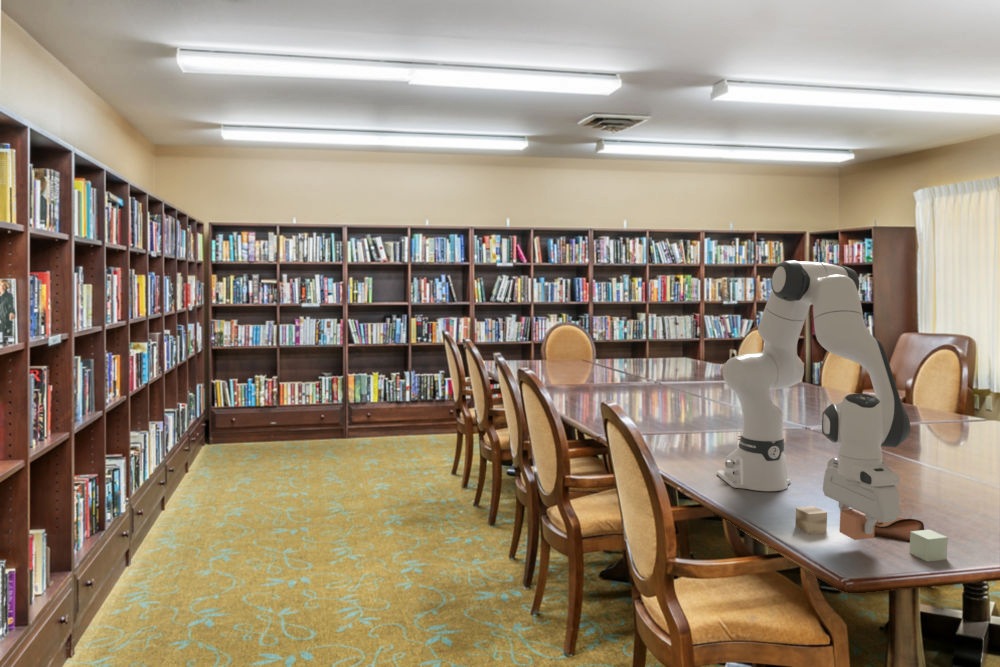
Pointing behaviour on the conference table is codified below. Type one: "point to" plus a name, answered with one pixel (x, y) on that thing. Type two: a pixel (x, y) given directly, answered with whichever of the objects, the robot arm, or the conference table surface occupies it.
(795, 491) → the conference table surface
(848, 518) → the rust block
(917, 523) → the sunglasses case
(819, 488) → the conference table surface
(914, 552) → the sage block
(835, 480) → the robot arm
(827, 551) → the conference table surface
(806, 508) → the maple block
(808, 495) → the conference table surface
